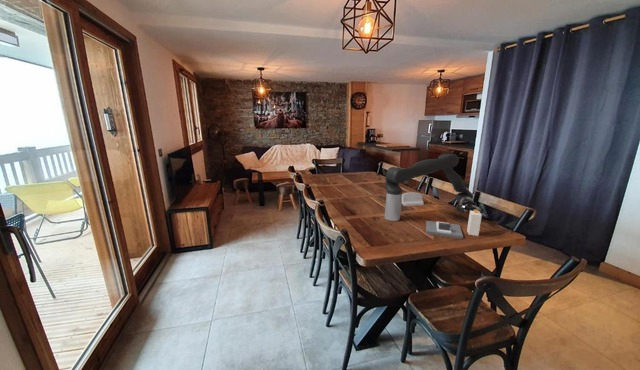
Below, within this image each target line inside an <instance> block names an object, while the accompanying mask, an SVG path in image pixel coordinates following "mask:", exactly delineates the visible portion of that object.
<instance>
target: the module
mask: <svg viewBox="0 0 640 370" xmlns="http://www.w3.org/2000/svg"><path fill="white" fill-rule="evenodd" d="M481 222H482V214H481V213H480V212H479V211H478V210H474V211H470V212H469V215H468V221H467V228H466V231H467V234H468V235H471V236H477V237H479V236H480V234H479V233H480V228H481Z"/></svg>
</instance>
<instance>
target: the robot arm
mask: <svg viewBox="0 0 640 370" xmlns="http://www.w3.org/2000/svg"><path fill="white" fill-rule="evenodd" d="M459 161H460V158H459V156H458V155H457V154H455V153H442V154H440V155H438V157H437V158H429V159H423V160H421V161H420V160H419V161H417V162H415V163H414V164H413V165H412V166H410V167H407V168H399V167H396V166H391V167H388V169H387V170H386V173H385V189H386V194H385V195H386V198H385V206H384V207H385V208H384V220H387V221H389V222H390V221H391V222H397V221H399V220H401V209H402V204H401V199H402V194H403V189H402V187H401V186H400V184H402V183H405V182H408V181H409V180H412V179H414V178H418V177H422V176H425V175H426V176H427V175H429V174H432V173H435V172H438V171H440V170H442V171H443V172H444V173H445V175H446V177H447V178H448V179H449V180H448V181H450V183H451V185H452V188H453V190H454V192H456V194H455V196H454V197H455V200H456V201H457V203H456V211H457V212H458V211H460V213H462V214H464V213H465V212H468V213H470V211H474V210H478V211H479V212H480V213H481V215H482V214H484V212H485V208H484V207H483V206H482V205H480V206H479V207H478V206H477V205H476V204H475V202H474V200H473V199H474V197H473V193H472V192H471V191H470V190H469V189H468V188H467V187H466V185H465V183H464V181H463V178H462V177H461V176H460V175H459V173H457V172H456V170H454V169H453V168H455V167H456V166H457V165H458V164H459Z"/></svg>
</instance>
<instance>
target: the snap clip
mask: <svg viewBox="0 0 640 370" xmlns="http://www.w3.org/2000/svg"><path fill="white" fill-rule="evenodd" d="M438 222H439V226H438V228H439V229H443V230H450V224H451V223H449V222H445V223H440V222H441V221H438ZM448 223H449V224H448Z"/></svg>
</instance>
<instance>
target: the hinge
mask: <svg viewBox="0 0 640 370" xmlns="http://www.w3.org/2000/svg"><path fill="white" fill-rule="evenodd" d="M401 205H402V206H404V207H407V206H424V205H425V204H424V201H423V197H422V194H421V193H419V192H413V191H412V192H411V191H410V192H405V193H402V199H401Z"/></svg>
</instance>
